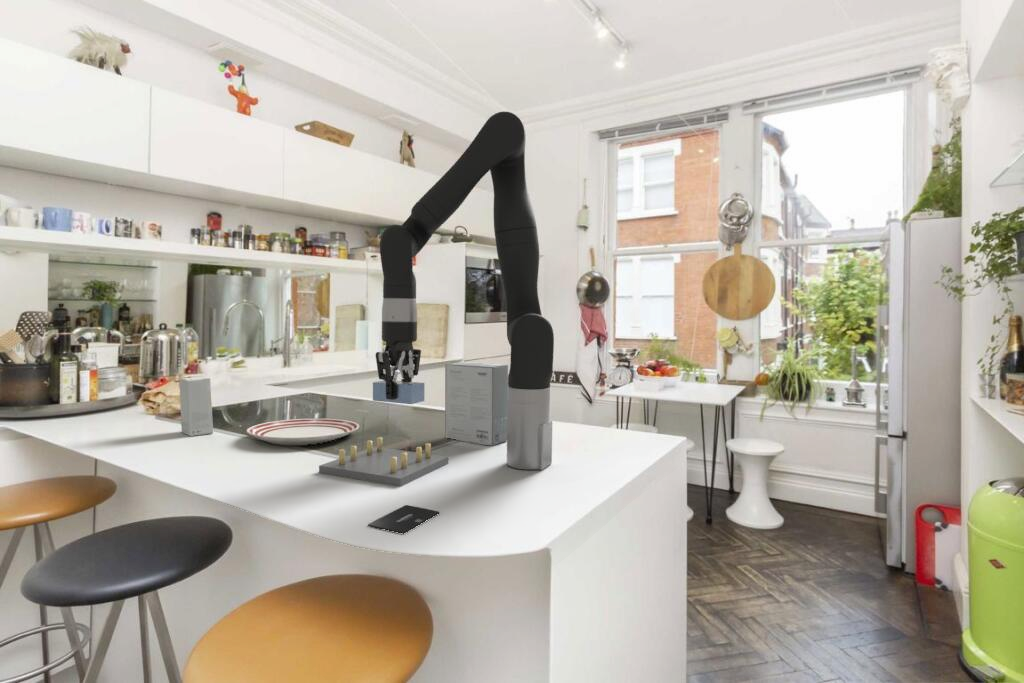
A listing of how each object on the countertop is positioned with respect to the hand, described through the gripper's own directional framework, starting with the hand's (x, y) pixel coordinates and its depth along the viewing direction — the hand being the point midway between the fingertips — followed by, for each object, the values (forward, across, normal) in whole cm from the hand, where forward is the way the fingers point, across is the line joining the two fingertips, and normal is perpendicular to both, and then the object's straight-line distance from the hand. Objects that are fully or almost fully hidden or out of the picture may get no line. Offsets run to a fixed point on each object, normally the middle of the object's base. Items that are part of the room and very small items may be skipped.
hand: (399, 397), depth 121 cm
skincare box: (+15, +1, +65) cm, 67 cm away
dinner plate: (+15, +10, +36) cm, 40 cm away
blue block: (+1, 0, 0) cm, 1 cm away
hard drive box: (+15, +28, -5) cm, 32 cm away
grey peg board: (+15, -4, 0) cm, 15 cm away
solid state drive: (+15, -27, -20) cm, 37 cm away
